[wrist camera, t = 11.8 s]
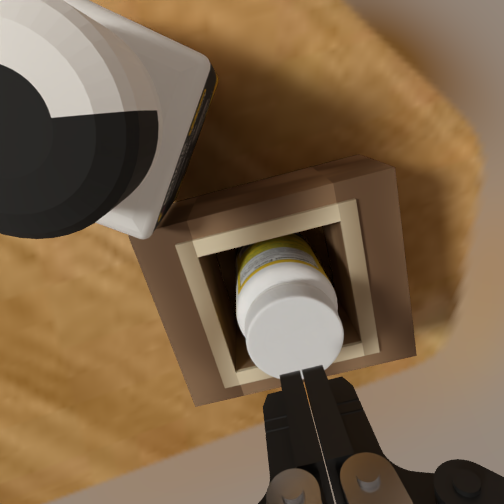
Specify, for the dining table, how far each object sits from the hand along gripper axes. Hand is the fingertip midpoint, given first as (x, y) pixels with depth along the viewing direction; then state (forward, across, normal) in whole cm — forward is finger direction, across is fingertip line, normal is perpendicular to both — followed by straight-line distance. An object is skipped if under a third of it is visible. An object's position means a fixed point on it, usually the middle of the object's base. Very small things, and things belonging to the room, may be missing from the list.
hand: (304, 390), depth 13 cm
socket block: (+11, 0, 0) cm, 11 cm away
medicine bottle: (+11, +5, -10) cm, 16 cm away
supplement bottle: (+11, 0, 0) cm, 11 cm away
